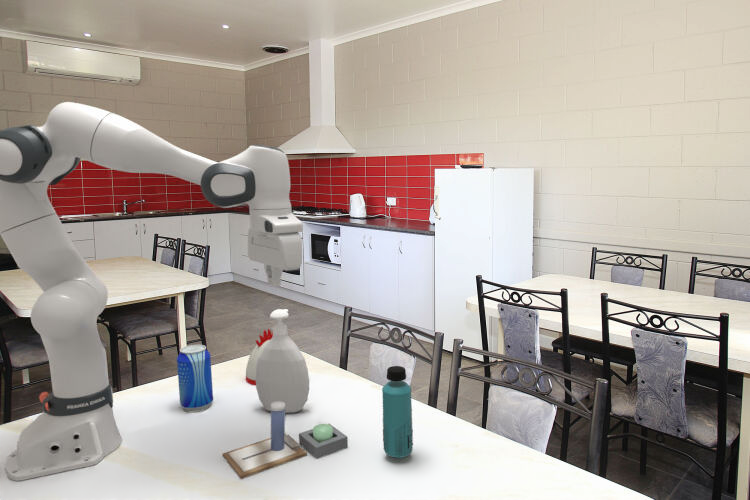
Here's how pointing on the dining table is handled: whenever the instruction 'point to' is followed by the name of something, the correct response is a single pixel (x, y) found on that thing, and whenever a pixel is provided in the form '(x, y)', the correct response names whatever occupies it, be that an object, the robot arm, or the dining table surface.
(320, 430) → the button
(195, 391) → the beer can
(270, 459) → the clipboard
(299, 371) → the soap bottle
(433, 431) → the dining table surface
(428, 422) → the dining table surface
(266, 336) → the kitchen timer
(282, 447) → the marker
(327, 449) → the button housing
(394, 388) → the beverage bottle
